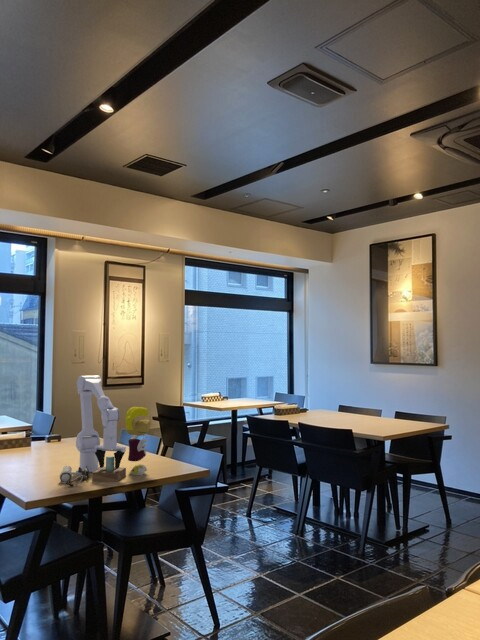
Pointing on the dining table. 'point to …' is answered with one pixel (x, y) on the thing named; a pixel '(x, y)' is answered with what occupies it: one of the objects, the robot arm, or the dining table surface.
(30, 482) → the dining table surface
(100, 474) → the socket block
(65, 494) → the dining table surface
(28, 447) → the dining table surface
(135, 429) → the toy
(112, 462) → the teal peg
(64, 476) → the clip-on lamp
